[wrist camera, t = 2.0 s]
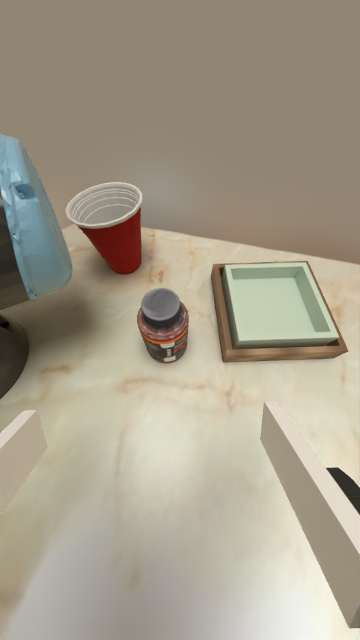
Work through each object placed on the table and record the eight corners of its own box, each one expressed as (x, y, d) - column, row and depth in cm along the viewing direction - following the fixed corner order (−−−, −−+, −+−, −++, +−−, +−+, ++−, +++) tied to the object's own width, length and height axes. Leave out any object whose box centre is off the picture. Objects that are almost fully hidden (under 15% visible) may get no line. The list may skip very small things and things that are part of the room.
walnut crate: (222, 362, 29) (227, 355, 26) (211, 275, 36) (213, 264, 34) (333, 358, 29) (348, 351, 26) (298, 273, 36) (307, 261, 34)
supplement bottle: (181, 368, 28) (181, 336, 18) (142, 358, 29) (121, 323, 19) (190, 331, 31) (195, 286, 21) (154, 323, 32) (141, 275, 22)
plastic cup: (120, 235, 42) (99, 170, 31) (164, 254, 39) (157, 190, 28) (84, 270, 37) (45, 208, 27) (130, 294, 35) (107, 235, 24)
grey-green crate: (232, 349, 29) (239, 340, 26) (221, 279, 35) (224, 264, 32) (322, 346, 29) (339, 337, 26) (295, 276, 35) (305, 262, 32)
